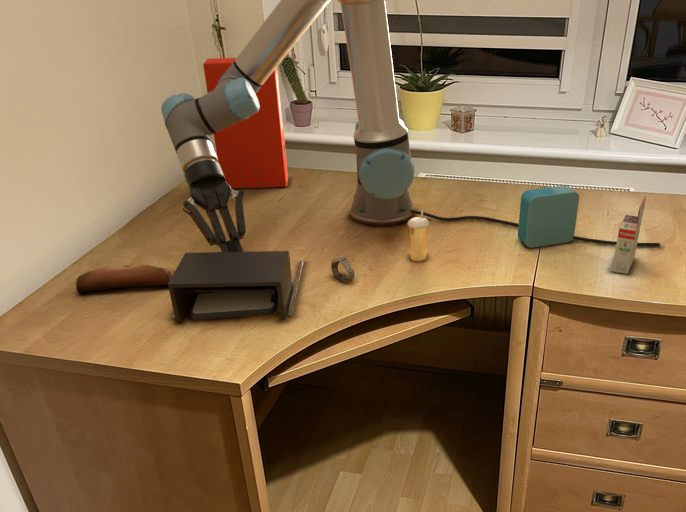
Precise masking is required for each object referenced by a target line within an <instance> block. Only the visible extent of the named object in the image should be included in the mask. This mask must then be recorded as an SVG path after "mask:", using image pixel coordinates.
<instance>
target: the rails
mask: <svg viewBox="0 0 686 512" xmlns="http://www.w3.org/2000/svg"><path fill="white" fill-rule="evenodd" d="M304 263H305V262H304V261H303V260H300V261H299V264H298V269H297V274H296V278H295V282H294V285H293V289H292V293H291V298H290V302H289V306H288V310H287V317H288V318H292V317H293V313H294V308H295V305H296V299H297V295H298V291H299V287H300V281H301V278H302V273H303V268H304V265H305V264H304ZM171 318H172V320H175V315H174V313H173V314H172V316H171Z"/></svg>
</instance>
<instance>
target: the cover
mask: <svg viewBox="0 0 686 512" xmlns="http://www.w3.org/2000/svg"><path fill="white" fill-rule="evenodd" d="M291 265H292V264H291V258H290V250H263V251H243V252H222V251H212V252H211V251H209V252H207V251H206V252H205V251H203V252H200V251H199V252H185V253H184V254H183V256H182V257H181V260H180V262H179V263H178V265H177V267H176V269H175V270H174V274H173V276H172V277H171V279H170V281H169V283H168V284H167V286H168V291H169V296H170V300H171V306H172V311H173V314H174V315H175V319H174V320H175V323H181V321H183V320H182V319H183V317H184V315H185V314H186V311H187V309H188V307H189V305H190V303H191V300H192V298H193V297H194V295H195V293H196V292H199V291H201V292H202V291H243V290H257V289H272V288H273V289H277V293H278V308H279V316H280V317H279V318H280V321H286V318H287V315H288V311H289V306H290V302H291V298H292V294H293V289H294V284H293V276H292V275H293V274H292V267H291Z"/></svg>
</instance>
